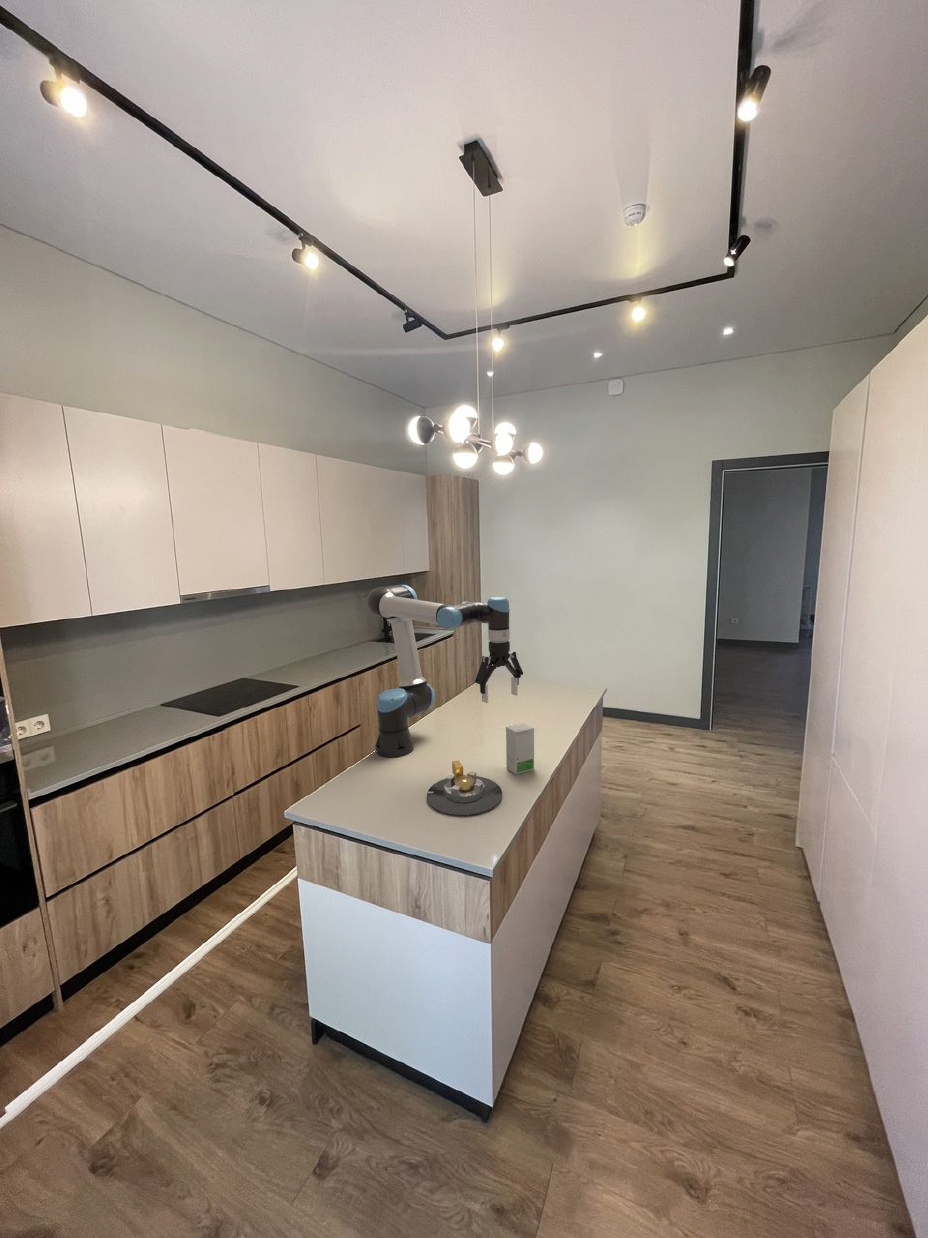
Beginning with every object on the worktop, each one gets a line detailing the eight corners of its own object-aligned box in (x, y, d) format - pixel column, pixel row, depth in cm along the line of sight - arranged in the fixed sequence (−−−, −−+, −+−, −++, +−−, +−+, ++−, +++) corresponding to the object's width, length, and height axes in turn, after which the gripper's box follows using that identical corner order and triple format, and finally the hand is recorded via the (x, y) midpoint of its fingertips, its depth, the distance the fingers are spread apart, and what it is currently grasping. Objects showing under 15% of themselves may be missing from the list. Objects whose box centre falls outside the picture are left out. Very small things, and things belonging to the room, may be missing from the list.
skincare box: (515, 775, 166) (514, 732, 164) (505, 768, 172) (504, 726, 169) (535, 769, 170) (534, 727, 167) (524, 762, 176) (524, 721, 173)
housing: (416, 812, 145) (415, 795, 144) (439, 775, 168) (438, 760, 167) (494, 820, 139) (494, 802, 138) (507, 781, 162) (507, 765, 161)
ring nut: (489, 798, 149) (489, 780, 148) (450, 805, 145) (449, 786, 144) (473, 774, 165) (473, 758, 164) (437, 780, 161) (437, 763, 160)
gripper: (476, 647, 161) (478, 708, 164) (532, 637, 175) (532, 694, 178) (464, 643, 167) (465, 702, 170) (519, 634, 181) (519, 689, 184)
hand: (500, 698), depth 174 cm, fingers open, 13 cm apart
